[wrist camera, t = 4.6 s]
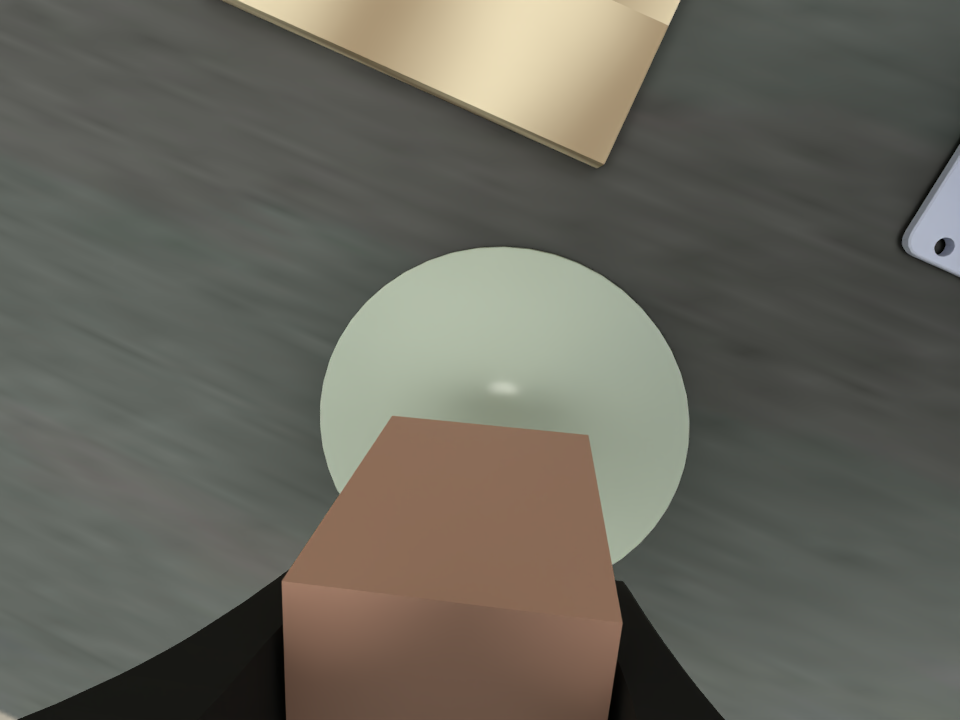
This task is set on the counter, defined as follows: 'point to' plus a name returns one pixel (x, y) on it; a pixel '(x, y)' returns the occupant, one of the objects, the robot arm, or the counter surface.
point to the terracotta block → (456, 583)
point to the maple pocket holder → (500, 56)
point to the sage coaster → (517, 372)
